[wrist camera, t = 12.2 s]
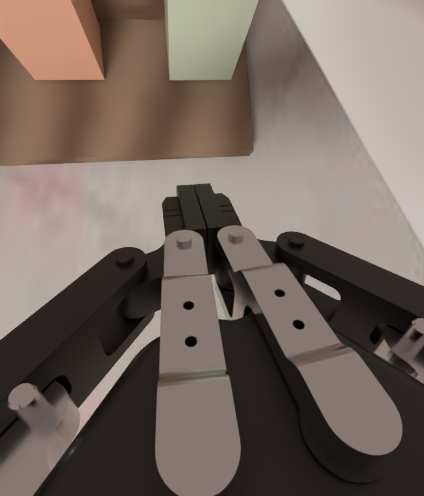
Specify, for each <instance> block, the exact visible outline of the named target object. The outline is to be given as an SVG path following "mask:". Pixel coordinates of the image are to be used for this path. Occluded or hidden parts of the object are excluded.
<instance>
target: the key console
mask: <svg viewBox="0 0 424 496" xmlns="http://www.w3.org/2000/svg"><path fill="white" fill-rule="evenodd" d="M91 3H92V6H93V9H94V12H95V15H96V17H97V20H98V23H99V26H100V35H101V46H102V57H103V68H104V80H35V79H34V78H33V77H32V76H31V74H30V73H29V72H28V71H27V70H26V68H25V67H24V66H23V65H22V64H21V62H20V61H19V60H18V59H17V58H16V57H15V55H14V54H13V53H12V52H11V51H10V49H9V48H8V47H7V46H6V45H5V44H4V42H3V41H2V40H1V39H0V166H13V165H37V164H61V163H85V162H110V161H134V160H158V159H182V158H206V157H231V156H249V155H250V154H251V153H252V152H253V150H254V149H253V136H252V122H251V109H250V96H249V83H248V70H247V57H246V44H245V41H244V44H243V47H242V50H241V53H240V56H239V59H238V61H237V64H236V67H235V70H234V73H233V76H232V79H231V80H170V79H169V67H168V55H167V43H166V31H165V7H164V0H91Z"/></svg>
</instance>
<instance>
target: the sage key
mask: <svg viewBox="0 0 424 496" xmlns="http://www.w3.org/2000/svg"><path fill="white" fill-rule="evenodd" d="M258 1H259V0H164V7H165V31H166V43H167V55H168V67H169V79H170V80H231V79H232V76H233V73H234V70H235V67H236V64H237V61H238V59H239V56H240V53H241V50H242V47H243V44H244V41H245V38H246V36H247V33H248V30H249V27H250V24H251V21H252V18H253V15H254V13H255V10H256V7H257V4H258Z"/></svg>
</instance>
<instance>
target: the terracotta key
mask: <svg viewBox="0 0 424 496" xmlns="http://www.w3.org/2000/svg"><path fill="white" fill-rule="evenodd" d="M0 39H1V40H2V41H3V42H4V44H5V45H6V46H7V47H8V48H9V49H10V51H11V52H12V53H13V54H14V55H15V57H16V58H17V59H18V60H19V61H20V62H21V64H22V65H23V66H24V67H25V68H26V70H27V71H28V72H29V73H30V74H31V76H32V77H33V78H34V79H35V80H104V68H103V57H102V46H101V35H100V26H99V23H98V20H97V17H96V15H95V12H94V9H93V6H92V3H91V0H0Z"/></svg>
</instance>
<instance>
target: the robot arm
mask: <svg viewBox="0 0 424 496" xmlns="http://www.w3.org/2000/svg"><path fill="white" fill-rule="evenodd" d="M162 209H163V219H164V229H165V238H166V239H165V243H164V244H163V245H162V246H161V247H160V248H159V249H157V250H155V251H153V252H150V253H147V254H145V253H144V252H143V251H142V250H140V249H138V248H134V247H124V248H119V249H116V250H114V251H112V252H111V253H109V254H108V255H107V256H105V257H104V258H103V259H102V260H100V261H99V262H98V263H97V264H95V265H94V266H93V267H92V268H90V269H89V270H88V271H86V272H85V273H84V274H83V275H81V276H80V277H79V278H78V279H76V280H75V281H74V282H73V283H71V284H70V285H69V286H68V287H66V288H65V289H64V290H63V291H61V292H60V293H59V294H58V295H56V296H55V297H54V298H53V299H51V300H50V301H49V302H48V303H46V304H45V305H44V306H43V307H41V308H40V309H39V310H38V311H36V312H35V313H34V314H33V315H31V316H30V317H29V318H27V319H26V320H25V321H24V322H22V323H21V324H20V325H19V326H17V327H16V328H15V329H14V330H12V331H11V332H10V333H9V334H7V335H6V336H5V337H4V338H2V339H1V340H0V496H424V286H422V285H419V284H417V283H415V282H413V281H410V280H408V279H406V278H403V277H401V276H399V275H397V274H394V273H392V272H390V271H387V270H385V269H383V268H381V267H378V266H376V265H374V264H371V263H369V262H367V261H365V260H362V259H360V258H358V257H355V256H353V255H351V254H349V253H346V252H344V251H342V250H339V249H337V248H335V247H333V246H330V245H328V244H326V243H323V242H321V241H319V240H316V239H314V238H312V237H310V236H307V235H305V234H302V233H299V232H285V233H282V234H280V235H279V236H278V238H277V242H273V241H264V240H259V239H257V238H256V237H255V235H254V234H253V232H252V231H251V230H249V229H248V228H245V227H243V226H242V224H241V222H240V220H239V218H238V216H237V214H236V212H235V211H234V208H233V206H232V204H231V202H230V200H229V198H228V197H226V196H225V195H223V194H222V193H219V194H214V192H213V190H212V187H211V185H210V183H209V184H194V185H179V186H177V197H166V198H165V200H164V201H163V203H162ZM211 274H214V275H215V278H216V279H215V289H216V292H217V295H218V297H219V300H220V303H221V305H222V308H223V311H224V313H225V316H226V319H227V320H221V319H218V315H217V309H216V303H215V297H214V291H213V285H212V279H211ZM307 275H309V276H311V277H313V278H315V279H317V280H319V281H321V282H323V283H325V284H327V285H329V286H331V287H332V288H334V289H336V290H337V291H338V292H339V294H340V296H341V300H336V299H334V298H332V297H330V296H328V295H326V294H324V293H322V292H320V291H319V290H317V289H315V288H313V287H311V286H309V285H307V284H305V283H304V282H305V279H306V276H307ZM160 309H161V329H160V337H158V338H156V339H155V340H153V341H152V342H150V343H149V344H148V345H146V346H145V347H144V348H143V349H142V350H141V351H140V352H139V353H138V354H137V355H136V356H135V357H134V359H133V360H132V361H131V363H130V364H129V365H128V367H127V368H126V370H125V371H124V372H123V374H122V375H121V376H120V378H119V379H118V380H117V382H116V383H115V385H114V386H113V387H112V389H111V390H110V391H109V393H108V394H107V395H106V397H105V398H104V400H103V401H102V402H101V404H100V405H99V406H98V408H97V409H96V410H95V412H94V413H93V414H92V416H91V417H90V419H89V420H88V421H87V423H86V424H85V425H84V427H83V428H82V429H81V431H80V432H79V434H78V435H77V436H76V438H75V439H74V440H73V438H74V437H75V435H76V433H77V431H78V428H79V423H80V413H79V410H78V408H79V407H80V406H81V404H82V403H83V402H84V401H85V400H86V398H87V397H88V396H89V395H90V393H91V392H92V391H93V390H94V389H95V387H96V386H97V385H98V384H99V383H100V381H101V380H102V379H103V378H104V377H105V375H106V374H107V373H108V372H109V371H110V369H111V368H112V367H113V366H114V365H115V363H116V362H117V361H118V360H119V358H120V357H121V356H122V355H123V354H124V352H125V351H126V350H127V349H128V348H129V346H130V345H131V344H132V343H133V342H134V340H135V339H136V338H137V337H138V336H139V334H140V333H141V332H142V331H143V330H144V328H145V327H146V326H147V325H148V324H149V322H150V321H151V320H152V318H153V317H154V314H155V312H156V311H158V310H160ZM72 440H73V442H72ZM71 442H72V443H71ZM70 443H71V444H70ZM69 445H70V446H69ZM68 446H69V447H68Z"/></svg>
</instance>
